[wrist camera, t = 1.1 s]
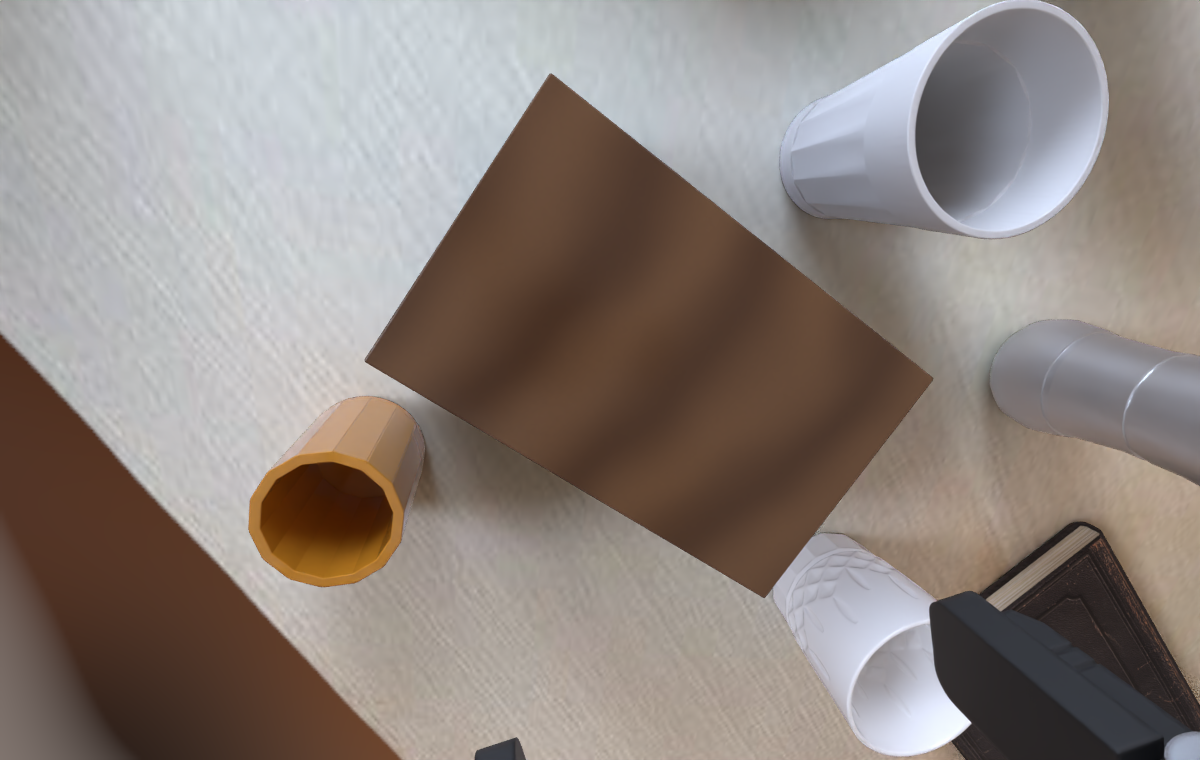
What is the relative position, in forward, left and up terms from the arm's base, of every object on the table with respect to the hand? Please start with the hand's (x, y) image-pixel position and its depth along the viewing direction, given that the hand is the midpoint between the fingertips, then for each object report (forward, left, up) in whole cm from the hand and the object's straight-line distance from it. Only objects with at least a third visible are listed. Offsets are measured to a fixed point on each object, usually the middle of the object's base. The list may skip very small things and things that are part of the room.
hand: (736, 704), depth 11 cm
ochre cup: (-7, -9, -24) cm, 27 cm away
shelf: (0, +4, -24) cm, 24 cm away
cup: (+5, +18, -24) cm, 30 cm away
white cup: (+21, -2, -24) cm, 32 cm away
